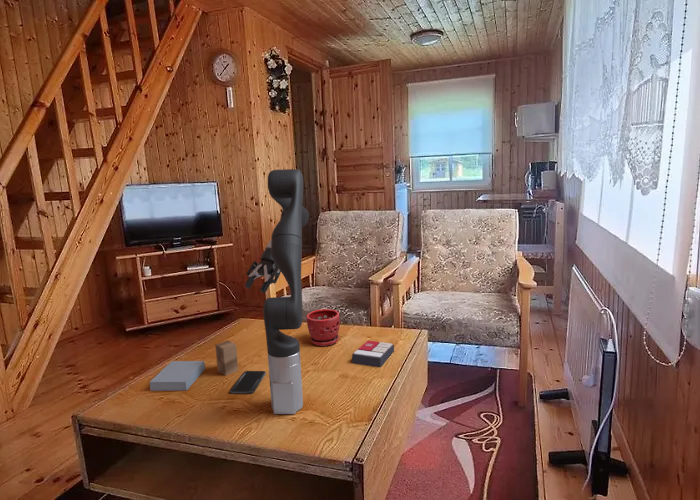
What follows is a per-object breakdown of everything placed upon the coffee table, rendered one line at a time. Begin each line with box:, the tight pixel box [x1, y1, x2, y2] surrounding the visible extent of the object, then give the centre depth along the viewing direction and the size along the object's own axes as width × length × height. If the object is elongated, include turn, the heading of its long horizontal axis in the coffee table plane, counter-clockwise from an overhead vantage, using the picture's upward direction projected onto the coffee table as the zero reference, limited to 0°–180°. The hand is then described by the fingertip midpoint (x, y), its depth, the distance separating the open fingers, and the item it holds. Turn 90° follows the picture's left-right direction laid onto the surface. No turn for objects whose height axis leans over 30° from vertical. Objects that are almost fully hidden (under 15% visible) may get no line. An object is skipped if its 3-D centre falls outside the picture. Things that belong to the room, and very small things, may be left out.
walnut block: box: [214, 340, 239, 377], centre depth 159 cm, size 5×5×10 cm
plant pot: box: [306, 308, 341, 347], centre depth 182 cm, size 13×13×12 cm
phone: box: [229, 370, 267, 395], centre depth 150 cm, size 8×1×15 cm
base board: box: [149, 360, 206, 392], centre depth 154 cm, size 16×12×3 cm
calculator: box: [351, 340, 395, 368], centre depth 167 cm, size 11×4×15 cm
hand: (254, 289), depth 164 cm, fingers open, 8 cm apart
